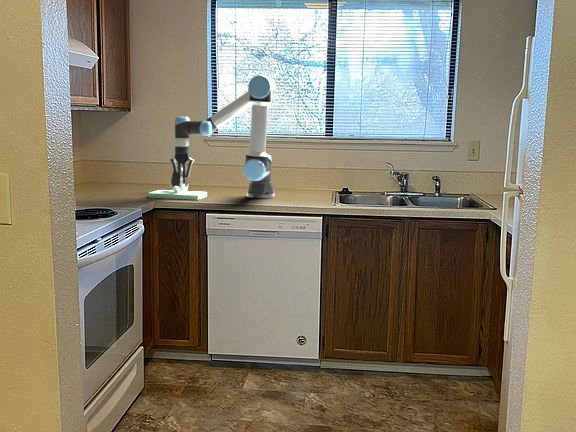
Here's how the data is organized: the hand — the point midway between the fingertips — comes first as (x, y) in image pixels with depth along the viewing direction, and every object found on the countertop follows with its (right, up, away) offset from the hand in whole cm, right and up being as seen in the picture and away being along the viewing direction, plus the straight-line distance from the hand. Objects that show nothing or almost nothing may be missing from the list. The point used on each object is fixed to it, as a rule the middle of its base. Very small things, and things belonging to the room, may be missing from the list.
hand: (182, 189), depth 319 cm
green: (-3, -4, +1) cm, 5 cm away
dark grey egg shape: (-5, -1, +19) cm, 20 cm away
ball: (-4, 0, +1) cm, 4 cm away
